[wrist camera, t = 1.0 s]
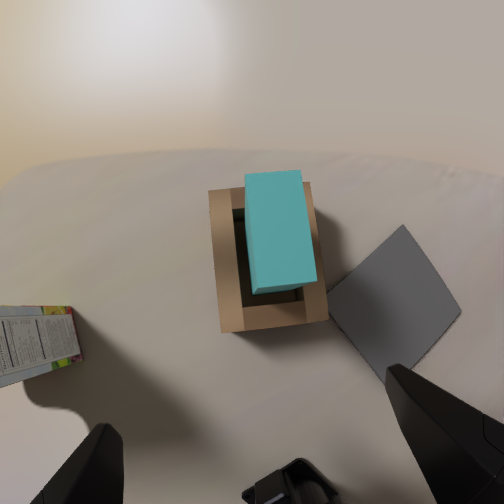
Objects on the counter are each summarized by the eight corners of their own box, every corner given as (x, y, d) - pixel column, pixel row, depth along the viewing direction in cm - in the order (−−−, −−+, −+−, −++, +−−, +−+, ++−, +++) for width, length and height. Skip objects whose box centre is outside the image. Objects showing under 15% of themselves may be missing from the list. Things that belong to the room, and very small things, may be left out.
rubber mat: (458, 310, 24) (461, 310, 24) (386, 388, 23) (389, 389, 23) (400, 225, 26) (403, 224, 25) (318, 300, 24) (320, 299, 24)
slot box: (316, 317, 24) (329, 319, 20) (225, 328, 24) (221, 332, 20) (300, 199, 26) (309, 181, 22) (213, 208, 25) (208, 190, 21)
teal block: (284, 291, 24) (317, 280, 13) (252, 295, 24) (257, 287, 13) (276, 228, 25) (300, 170, 14) (244, 231, 25) (244, 174, 14)
